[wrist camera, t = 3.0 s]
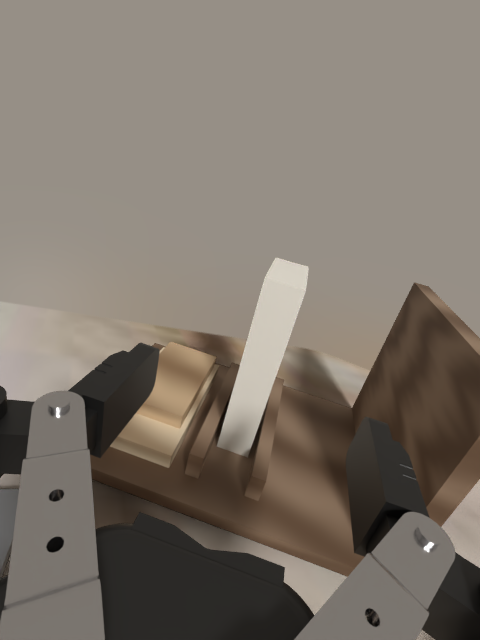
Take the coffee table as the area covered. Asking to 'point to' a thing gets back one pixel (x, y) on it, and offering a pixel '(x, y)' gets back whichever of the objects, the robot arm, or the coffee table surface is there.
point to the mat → (7, 524)
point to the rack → (306, 439)
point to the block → (263, 353)
